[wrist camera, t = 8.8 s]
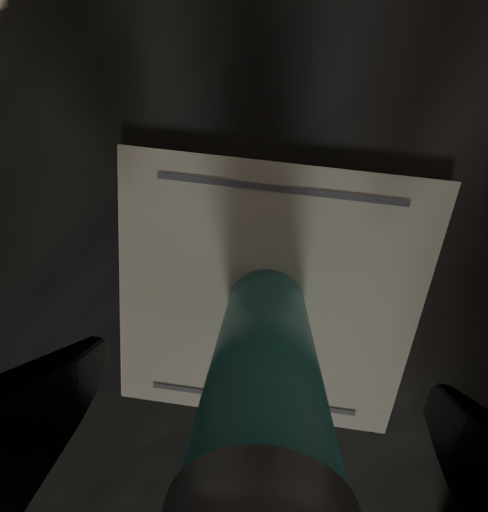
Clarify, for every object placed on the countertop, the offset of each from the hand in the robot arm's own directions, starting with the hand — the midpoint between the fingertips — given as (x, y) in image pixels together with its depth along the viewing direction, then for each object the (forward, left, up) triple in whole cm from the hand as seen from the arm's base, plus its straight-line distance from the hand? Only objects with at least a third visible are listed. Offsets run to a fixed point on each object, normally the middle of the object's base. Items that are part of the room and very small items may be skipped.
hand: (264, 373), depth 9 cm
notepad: (0, 0, -5) cm, 5 cm away
